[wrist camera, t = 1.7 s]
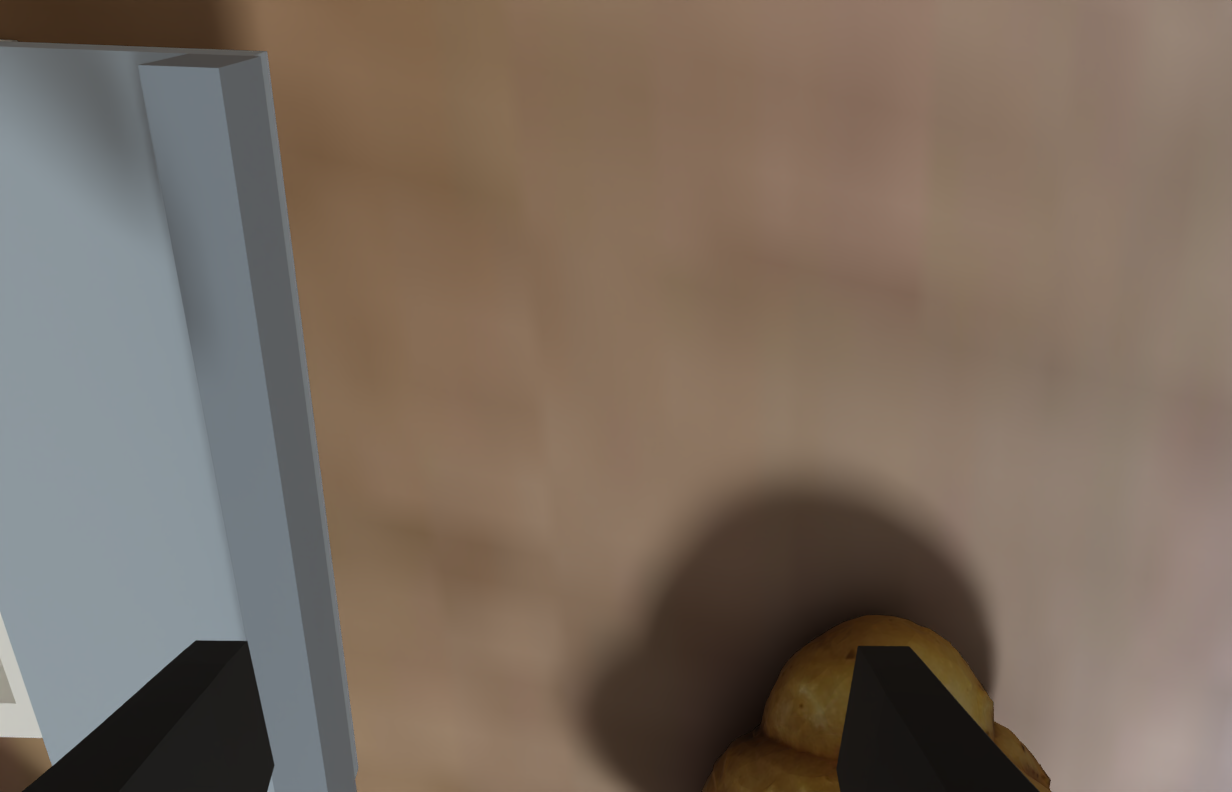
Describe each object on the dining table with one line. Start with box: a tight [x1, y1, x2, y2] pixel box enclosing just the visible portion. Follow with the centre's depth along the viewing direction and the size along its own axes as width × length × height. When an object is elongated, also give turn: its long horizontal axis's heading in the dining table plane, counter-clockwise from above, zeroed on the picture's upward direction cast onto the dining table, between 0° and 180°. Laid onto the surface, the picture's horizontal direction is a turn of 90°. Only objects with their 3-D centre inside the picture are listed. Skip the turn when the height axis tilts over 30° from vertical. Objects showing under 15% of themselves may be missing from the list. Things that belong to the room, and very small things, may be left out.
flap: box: [0, 41, 358, 792], centre depth 15 cm, size 15×6×2 cm, turn 178°
